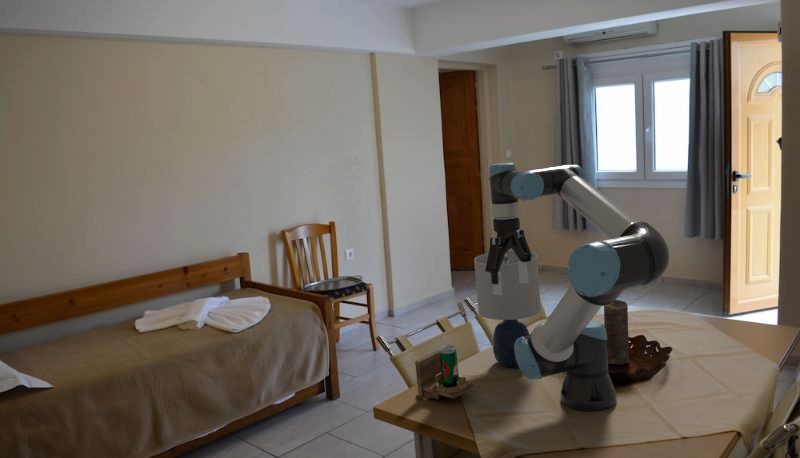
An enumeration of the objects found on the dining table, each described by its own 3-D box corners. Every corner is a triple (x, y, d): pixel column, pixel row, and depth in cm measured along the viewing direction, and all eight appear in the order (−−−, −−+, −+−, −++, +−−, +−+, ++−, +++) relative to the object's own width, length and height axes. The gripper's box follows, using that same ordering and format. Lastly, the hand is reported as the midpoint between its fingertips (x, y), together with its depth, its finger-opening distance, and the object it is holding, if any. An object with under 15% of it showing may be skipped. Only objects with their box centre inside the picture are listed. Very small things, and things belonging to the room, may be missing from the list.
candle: (632, 360, 209) (629, 300, 206) (627, 368, 203) (624, 307, 199) (608, 357, 213) (605, 299, 210) (602, 365, 207) (599, 305, 204)
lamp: (470, 366, 217) (461, 259, 212) (508, 348, 231) (500, 247, 225) (519, 379, 202) (510, 265, 197) (556, 359, 216) (549, 251, 210)
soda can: (458, 389, 190) (454, 350, 188) (441, 389, 191) (437, 350, 189) (460, 382, 195) (456, 344, 193) (443, 382, 196) (440, 344, 194)
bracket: (476, 395, 194) (472, 357, 192) (453, 409, 186) (449, 369, 185) (439, 385, 204) (435, 349, 202) (415, 398, 196) (412, 360, 195)
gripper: (519, 209, 197) (523, 277, 201) (469, 224, 180) (475, 298, 183) (540, 210, 192) (545, 279, 195) (491, 225, 174) (497, 301, 178)
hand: (511, 288), depth 189 cm, fingers open, 13 cm apart
